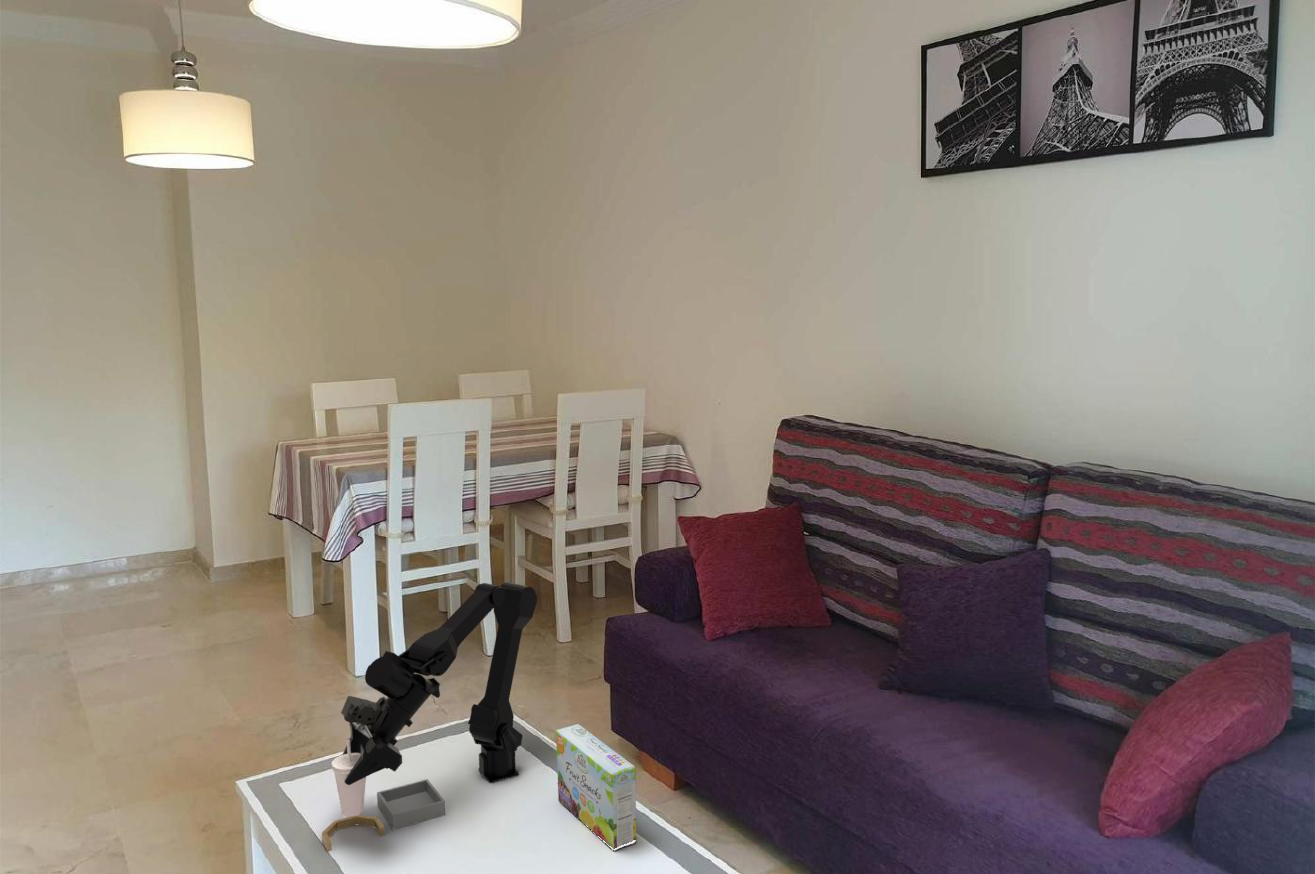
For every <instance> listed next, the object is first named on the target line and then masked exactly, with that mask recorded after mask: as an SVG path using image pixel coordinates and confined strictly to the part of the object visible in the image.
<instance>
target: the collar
mask: <svg viewBox="0 0 1315 874" xmlns="http://www.w3.org/2000/svg"><path fill="white" fill-rule="evenodd" d="M357 824H358V825H357ZM356 825H357V826H365V827H373V828H375V830H376V831H377V833H378V834H379V836H380V837H383V836H385V835H386V834H385V833H386V832H385V830H386V829H385V826H384V825H383V822H382V821H381V820H380V818H379V817H376V816H372V815H371V816H369V815H362V814H359V815H356V816H346V817H343V818H339V819H336V820H334V821H332V822H331V824H329V825H328V826H327V827H326V828H324V830H323V831H322V832H321V839H322V840H321V841H322V843H324V844H323V845H324V848H325V849H326V852H330V850H331V851H333V843H332V840H331V837H332V836H333V835H334V834H335V833H336V832H337V831H338V830H343V829H346V828H350V827H354V826H356Z"/></svg>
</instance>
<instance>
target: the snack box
mask: <svg viewBox="0 0 1315 874" xmlns="http://www.w3.org/2000/svg"><path fill="white" fill-rule="evenodd" d="M555 736H556V739H555V740H556V765H557V766H556V770H557V771H556V772H557V792H558V796H557V797H558V798H557V799H558V802H559V801H560V802H561V803H562V804H561V805H562V806H564V808H566V809H567V810H568V811H569V810H570V811H571V812H572V813H573V814H574V815H575V816H576V817H575V816H574V815H573V814H572V813H571V812H570V811H569V812H570V813H571V814H572V815H573V816H574V817H575V818H576V819H578V820H579V819H580V820H581V821H582V822H583V823H584V824H585V825H587V826H588V828H590V829H591V830H592V831H593V832H594V833H595V834H596V835H597V836H599V837H600V838H601V839H602V840H604V841H605V842H606V843H607V844H608V845H609V846H611V847H612V848H613V849H615V848H617V847H619V846H621V845H624V844H627V843H629V842H632V841H633V840H636V841H637V802H636V801H637V794H636V793H637V790H636V788H637V785H636V784H637V783H636V782H637V780H636V766H635V765H633V763H630V762H629V760H626V758H625V757H623V756H621V755H620V754H619V753H618V752H617V751H615V750H614V749H612V748H611V747H609V746H608V745H606V743H604V742H603V741H601V740H600V739H599V738H598V737H596V736H595V735H594V734H592V733H591V732H590V731H588V730H587V729H586V728H584V727H583V726H582V725H580V724H579V723H577V724H576V723H575V724H572V725H570V726H565V727H563V728H559V729H556V730H555ZM560 802H559V803H560ZM580 820H579V821H580ZM581 821H580V822H581ZM582 822H581V823H582ZM583 823H582V824H583ZM584 824H583V825H584ZM585 825H584V826H585ZM588 828H587V829H588ZM590 829H589V830H590ZM591 830H590V831H591ZM592 831H591V832H592ZM593 832H592V833H593ZM594 833H593V834H594ZM595 834H594V835H595ZM596 835H595V836H596ZM597 836H596V837H597Z"/></svg>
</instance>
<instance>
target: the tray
mask: <svg viewBox="0 0 1315 874" xmlns="http://www.w3.org/2000/svg"><path fill="white" fill-rule="evenodd" d="M376 800H377V803H376V804H377V807H378V809H379V810H380V812H381V814H382V815H383V816H384V818H385V819H386V821H387V823H388V824H389V825H390V827H391V829H392V830H397V829H400V828H404V827H408V826H411V825H415V824H418V823H421V822H425V821H429V820H433V819H436V818H440V817H443V816H446V812H447V811H446V800H445V799H444V798H443V797H442V795H441V794H440V793H439V791H437V789H436V787H434V786H433V784H432V783H431V782H430V780H429V779H428V778H426V779H422V780H419V781H418V780H417V781H415V782H411V783H407V784H404V785H399V786H396V787H392V788H388V789H385V790H384V789H383V790H381V791H377V792H376Z"/></svg>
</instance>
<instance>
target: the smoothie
mask: <svg viewBox="0 0 1315 874" xmlns="http://www.w3.org/2000/svg"><path fill="white" fill-rule="evenodd" d="M346 746H347V752H348V754H344V755H343V754H342V755H340V756H337V757H336V758H334V759H333V760H332V762H331V770H332V771H333V772H334V773H333V774H334V778H335V784H336V788H337V793H338V800H339V805H340V809H341V810H340V811H341V814H342V816H344V817H350V816H356V815H361V814H362V813H363V811H364V807H365V805H364V804H365V794H366V782H367V777H365V778H363V779H361V780H359V781H357V782H355V783H353V784H351V785H347V784H346V783H345V782H344V781H345V779H346V778H347V776H348V774H349V773H350V771H351V770H352V768H353V767H354V765H355V764H356V762H357V761H358V759H359V758H360V756H361V753H351V747H350V738H347V739H346Z"/></svg>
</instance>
